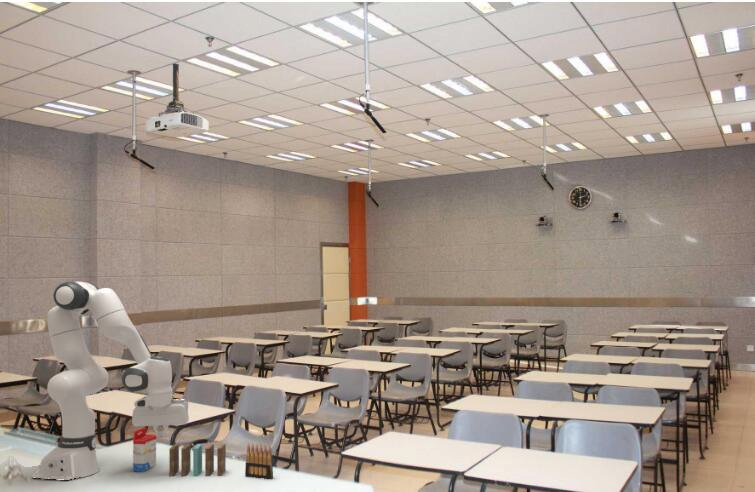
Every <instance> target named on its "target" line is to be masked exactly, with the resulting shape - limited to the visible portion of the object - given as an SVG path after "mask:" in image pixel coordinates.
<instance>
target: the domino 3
mask: <svg viewBox="0 0 755 492" xmlns="http://www.w3.org/2000/svg"><path fill="white" fill-rule="evenodd" d="M192 450H193V451H192V452H193V454H192V456H193V459H192V460H193V462H192V464H193V465H192V476H193V477H199V475H200V474H201V473H202V472H203V444H202V443H197V444H196V446H195V447H193V448H192Z"/></svg>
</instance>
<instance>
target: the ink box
mask: <svg viewBox="0 0 755 492" xmlns="http://www.w3.org/2000/svg"><path fill="white" fill-rule="evenodd" d="M140 432H141V433H140ZM132 440H133V441H132V446H133V447H132V454H133V455H132V462H133V463H132V471H133V472H142V473H143V472H144V473H145V472H146V471H148V470H149V469H151V468H153V467H155V466H156V465H157V437H156V434H147V426H143V427H142V428H140V429H139V428H138V429H137V430H135V431H134V432H133V439H132Z"/></svg>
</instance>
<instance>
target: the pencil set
mask: <svg viewBox="0 0 755 492" xmlns="http://www.w3.org/2000/svg"><path fill="white" fill-rule="evenodd" d="M272 457H273V456H272V448H271V445H270V444H269V445H268V448H267V445H266V444H265V445H264V446H263V445H262V444H260V446H259V445H258V443H256V444H255V445H254V443H251V445H250V443H249V442H248V443H247V445H246V457H245V461H246V462H245V470H244V476H245V477H246V478H253V479H254V477H255V479H261V478H264V479H263V480H269V479H271V480H272V479H274V470H273V469H274V465H273V458H272Z"/></svg>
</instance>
